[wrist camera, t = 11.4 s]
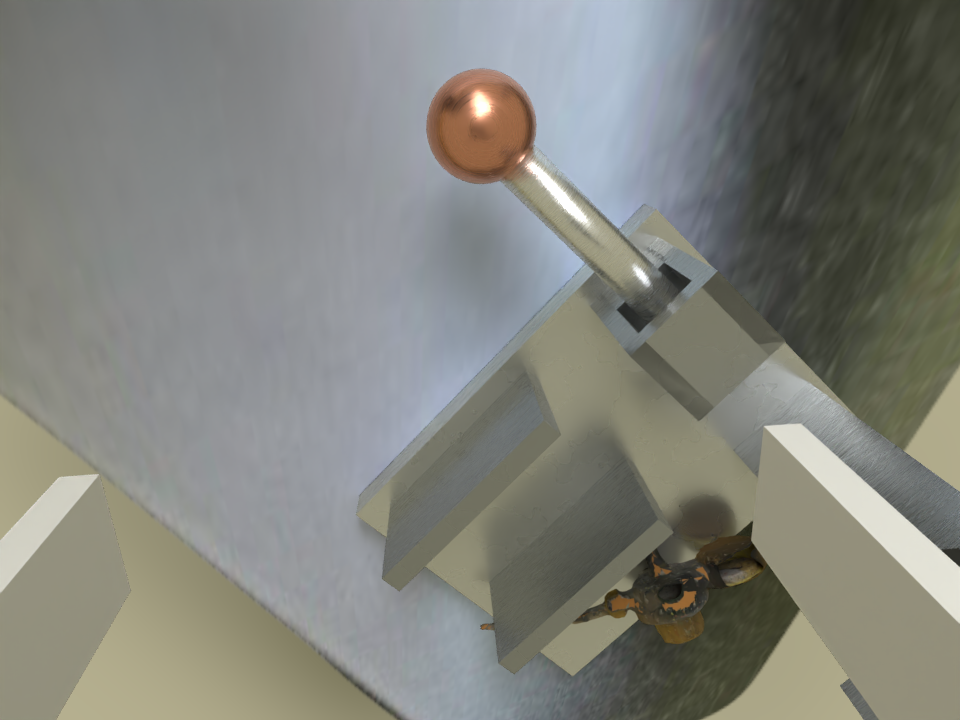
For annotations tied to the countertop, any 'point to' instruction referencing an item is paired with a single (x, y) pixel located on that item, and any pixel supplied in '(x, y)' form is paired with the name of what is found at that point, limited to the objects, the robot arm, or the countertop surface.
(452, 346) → the countertop surface
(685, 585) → the regulator
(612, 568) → the press
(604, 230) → the lever
